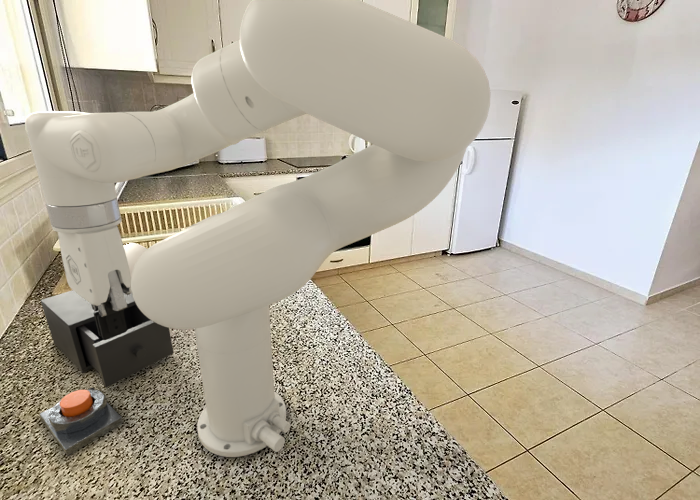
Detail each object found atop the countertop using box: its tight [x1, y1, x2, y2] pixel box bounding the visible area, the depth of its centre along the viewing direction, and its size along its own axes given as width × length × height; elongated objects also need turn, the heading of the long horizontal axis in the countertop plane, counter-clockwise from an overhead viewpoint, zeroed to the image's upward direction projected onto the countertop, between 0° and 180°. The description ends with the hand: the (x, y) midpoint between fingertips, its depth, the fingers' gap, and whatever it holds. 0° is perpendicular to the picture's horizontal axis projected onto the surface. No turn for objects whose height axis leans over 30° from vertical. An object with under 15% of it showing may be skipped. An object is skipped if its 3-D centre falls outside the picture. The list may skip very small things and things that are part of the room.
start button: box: [59, 389, 93, 417], centre depth 53 cm, size 4×4×2 cm
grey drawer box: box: [40, 289, 136, 374], centre depth 71 cm, size 14×13×10 cm
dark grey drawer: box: [76, 305, 174, 389], centre depth 66 cm, size 14×11×8 cm
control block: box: [39, 386, 124, 457], centre depth 54 cm, size 10×7×3 cm
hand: (113, 333), depth 55 cm, fingers closed
